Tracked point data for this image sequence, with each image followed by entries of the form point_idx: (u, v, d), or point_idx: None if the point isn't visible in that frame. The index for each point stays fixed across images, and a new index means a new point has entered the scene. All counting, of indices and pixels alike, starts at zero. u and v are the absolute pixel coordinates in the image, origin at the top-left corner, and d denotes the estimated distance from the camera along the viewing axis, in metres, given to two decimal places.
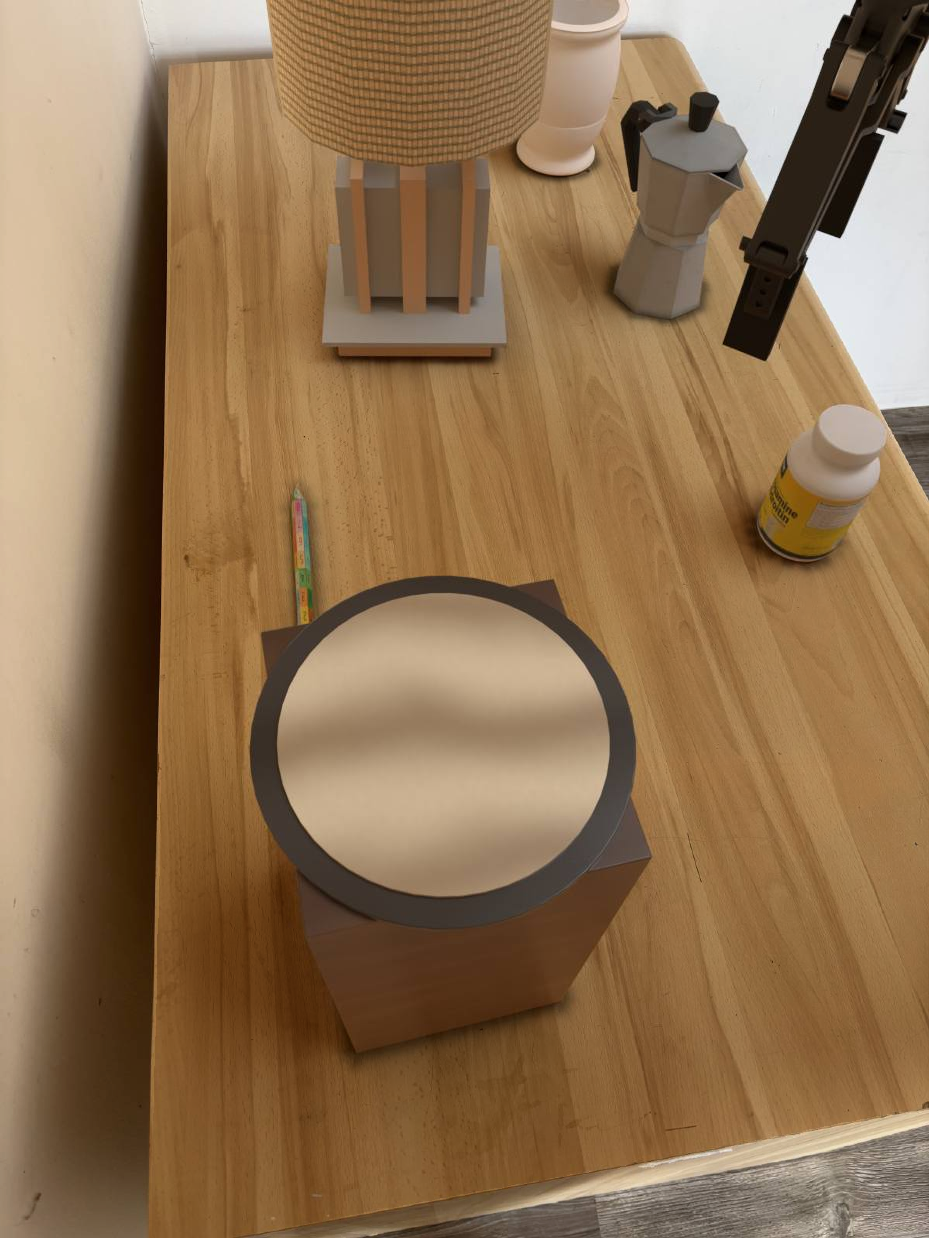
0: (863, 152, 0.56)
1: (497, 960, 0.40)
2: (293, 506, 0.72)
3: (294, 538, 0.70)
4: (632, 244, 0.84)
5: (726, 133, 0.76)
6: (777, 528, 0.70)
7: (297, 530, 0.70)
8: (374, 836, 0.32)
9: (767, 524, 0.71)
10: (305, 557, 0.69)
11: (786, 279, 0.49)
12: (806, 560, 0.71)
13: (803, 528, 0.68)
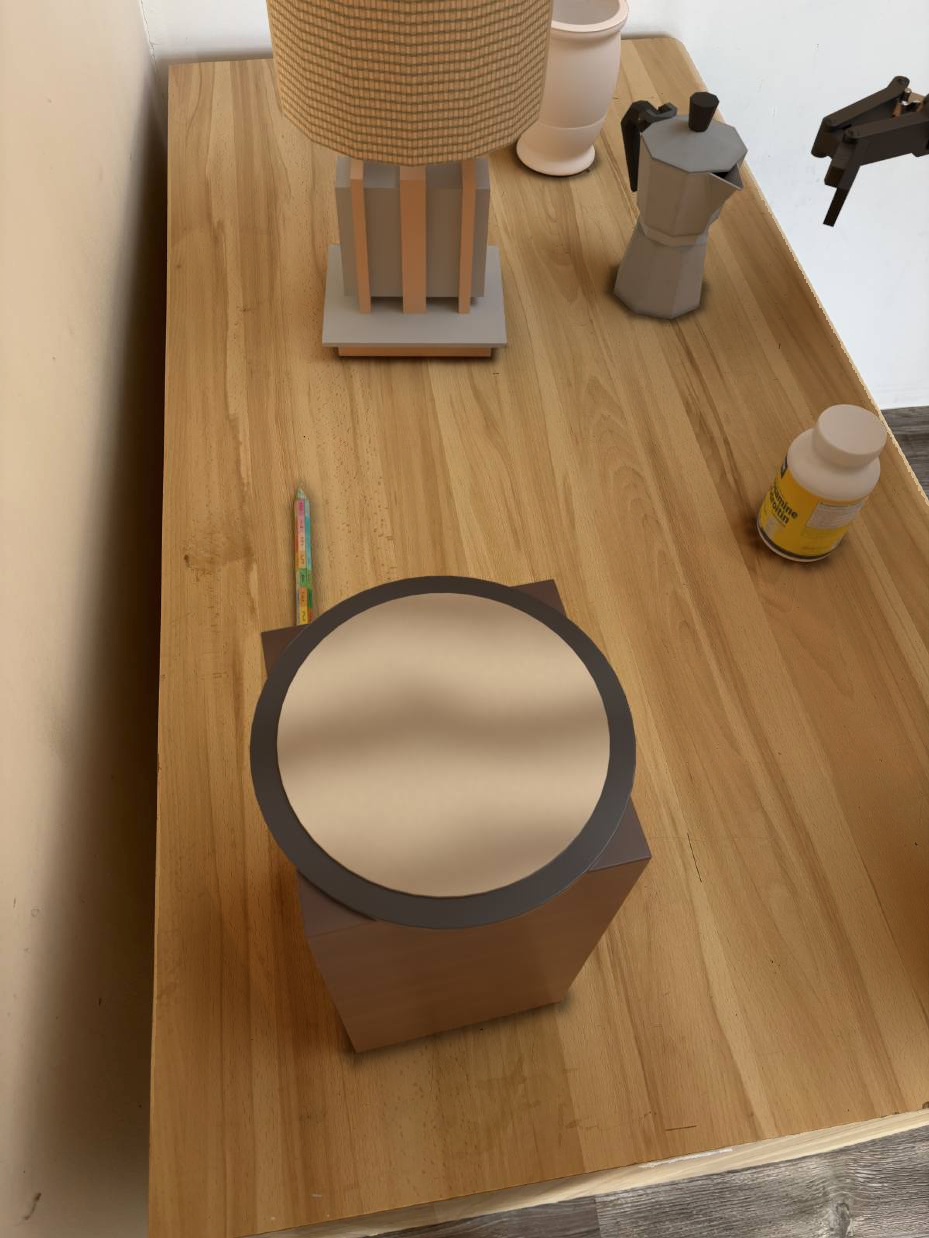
0: None
1: (497, 960, 0.40)
2: (296, 506, 0.72)
3: (296, 538, 0.70)
4: (632, 244, 0.84)
5: (726, 133, 0.76)
6: (777, 528, 0.70)
7: (299, 529, 0.70)
8: (374, 836, 0.32)
9: (767, 524, 0.71)
10: (306, 557, 0.69)
11: (853, 154, 0.64)
12: (806, 560, 0.71)
13: (803, 528, 0.68)
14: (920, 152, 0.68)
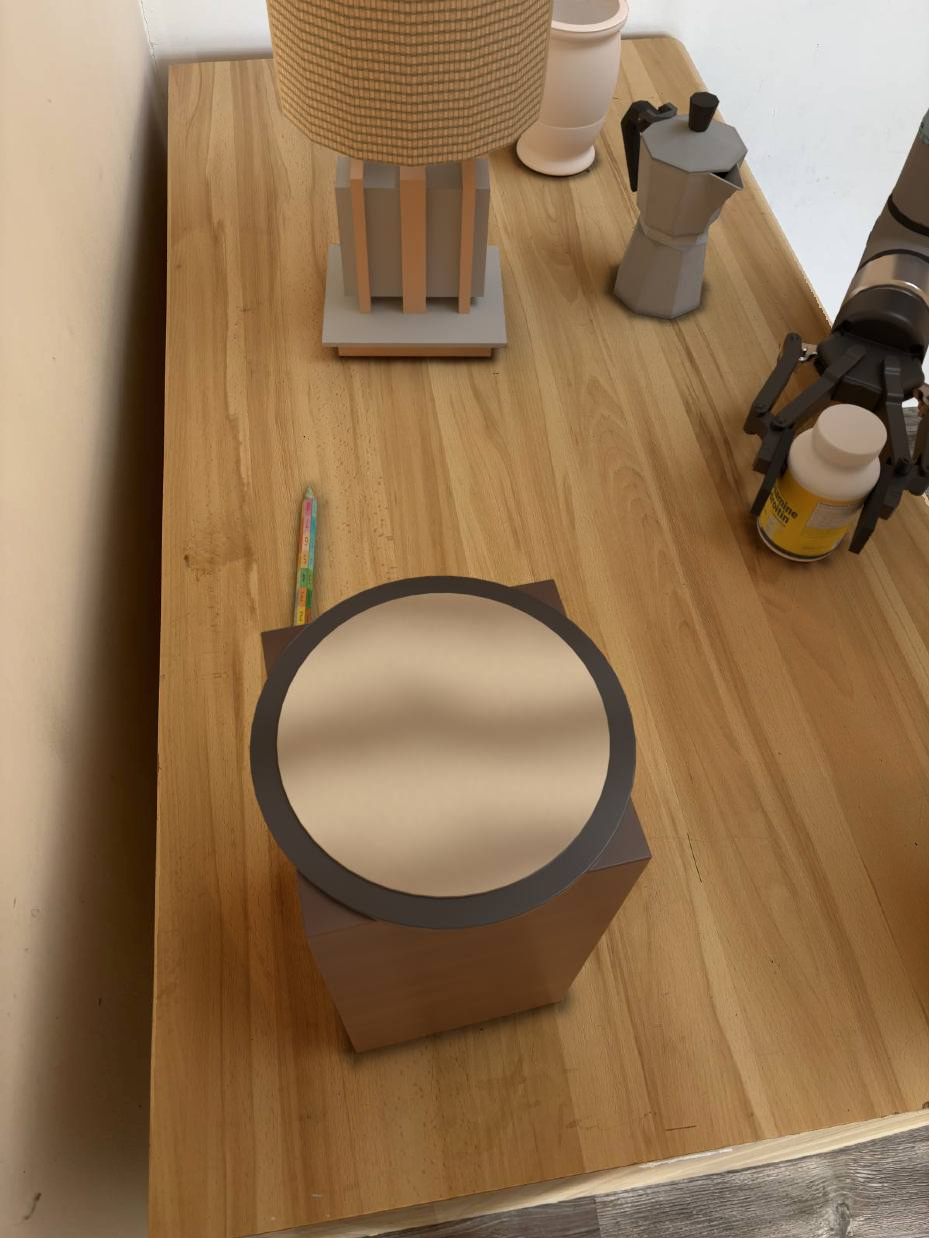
0: None
1: (497, 960, 0.40)
2: (304, 505, 0.72)
3: (301, 537, 0.70)
4: (632, 244, 0.84)
5: (726, 133, 0.76)
6: (777, 528, 0.70)
7: (304, 529, 0.70)
8: (374, 836, 0.32)
9: (767, 524, 0.71)
10: (309, 557, 0.69)
11: (779, 443, 0.68)
12: (806, 560, 0.71)
13: (803, 528, 0.68)
14: (826, 405, 0.73)
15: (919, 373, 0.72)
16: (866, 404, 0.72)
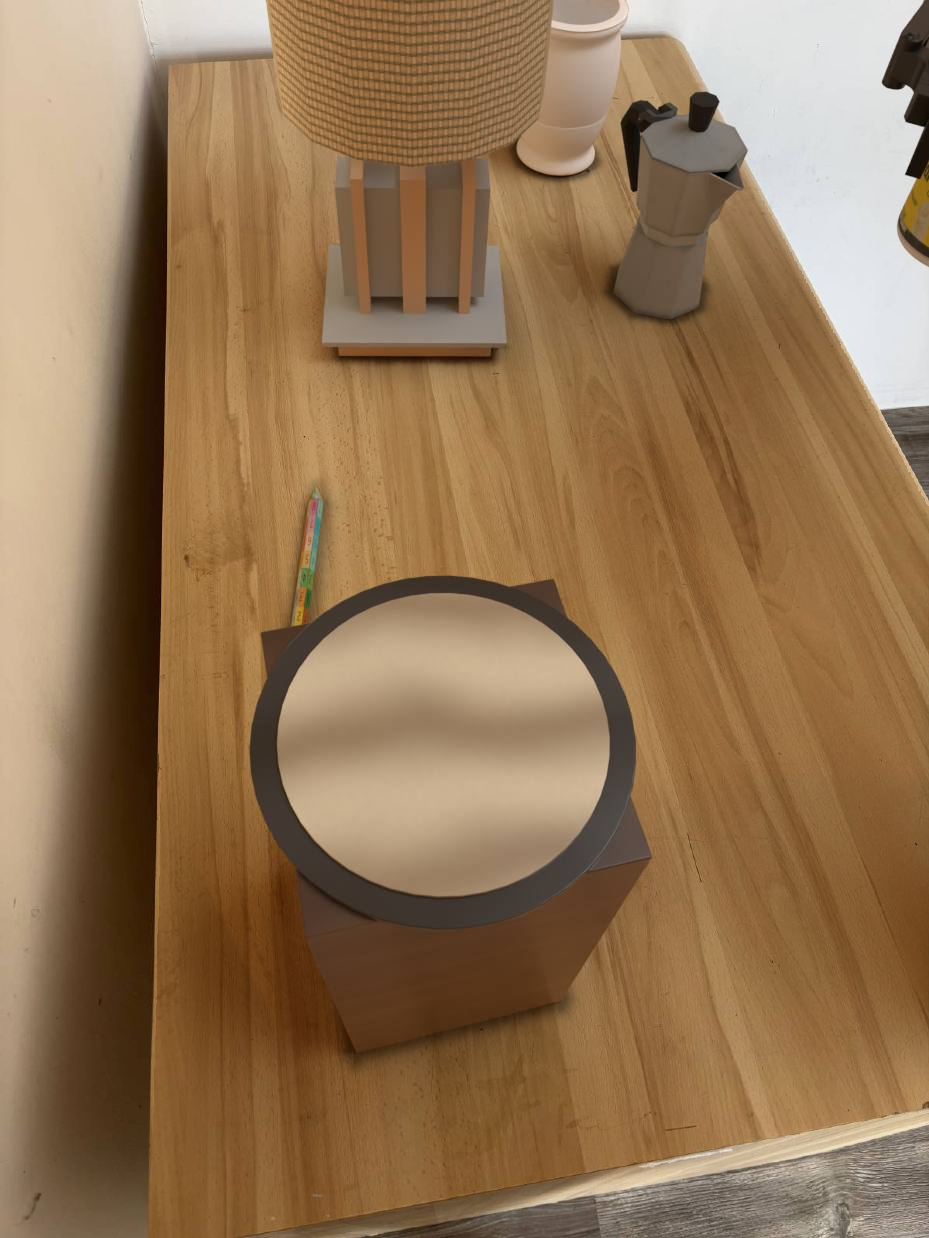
0: None
1: (497, 960, 0.40)
2: (309, 505, 0.72)
3: (304, 537, 0.70)
4: (632, 244, 0.84)
5: (726, 133, 0.76)
6: None
7: (308, 529, 0.70)
8: (374, 836, 0.32)
9: (917, 220, 0.49)
10: (311, 557, 0.69)
11: None
12: None
13: None
14: None
15: None
16: None
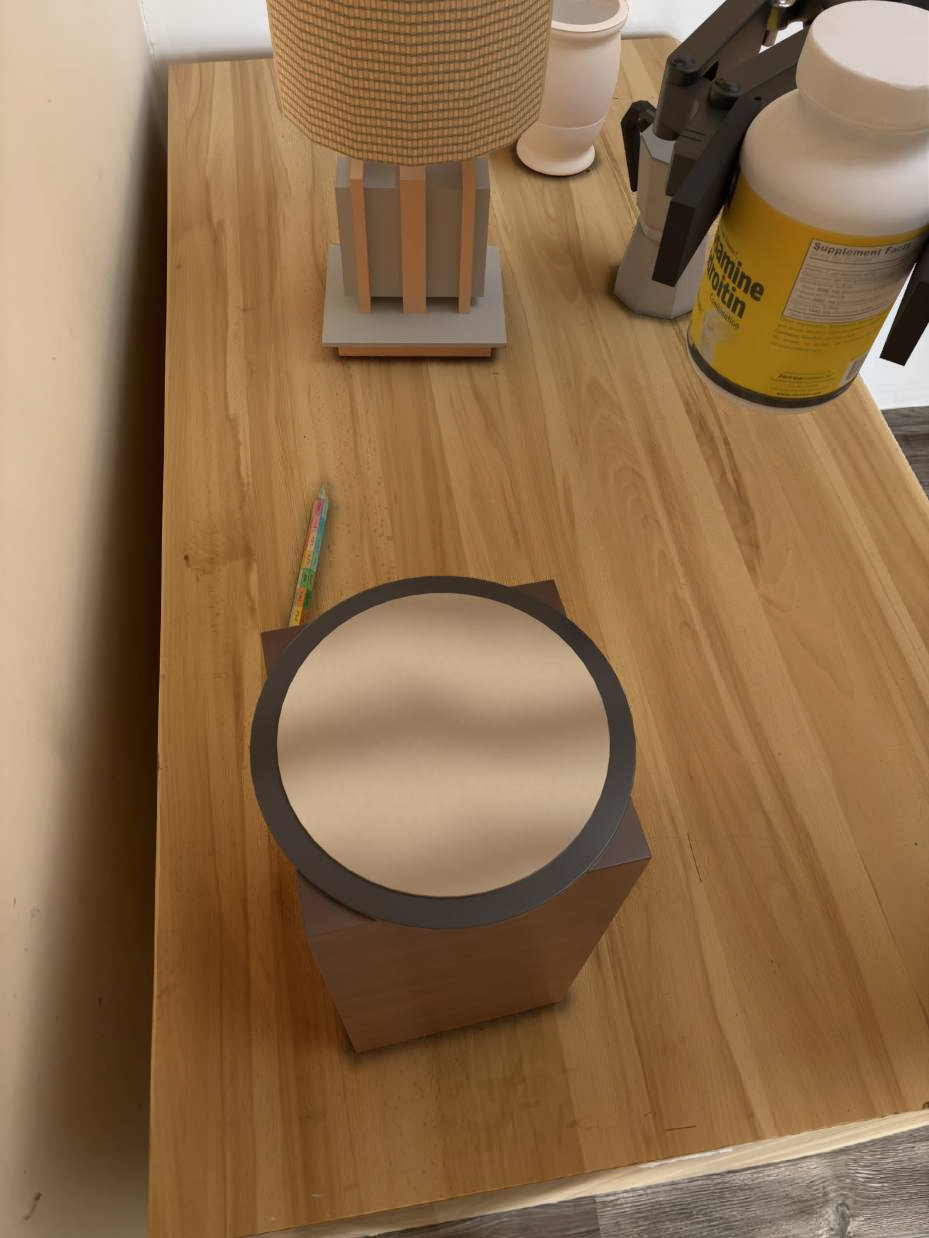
0: None
1: (497, 960, 0.40)
2: (315, 505, 0.72)
3: (308, 537, 0.70)
4: (632, 244, 0.84)
5: None
6: (722, 335, 0.32)
7: (312, 529, 0.70)
8: (374, 836, 0.32)
9: (703, 333, 0.33)
10: (313, 557, 0.69)
11: None
12: (786, 411, 0.33)
13: (777, 324, 0.30)
14: None
15: None
16: None
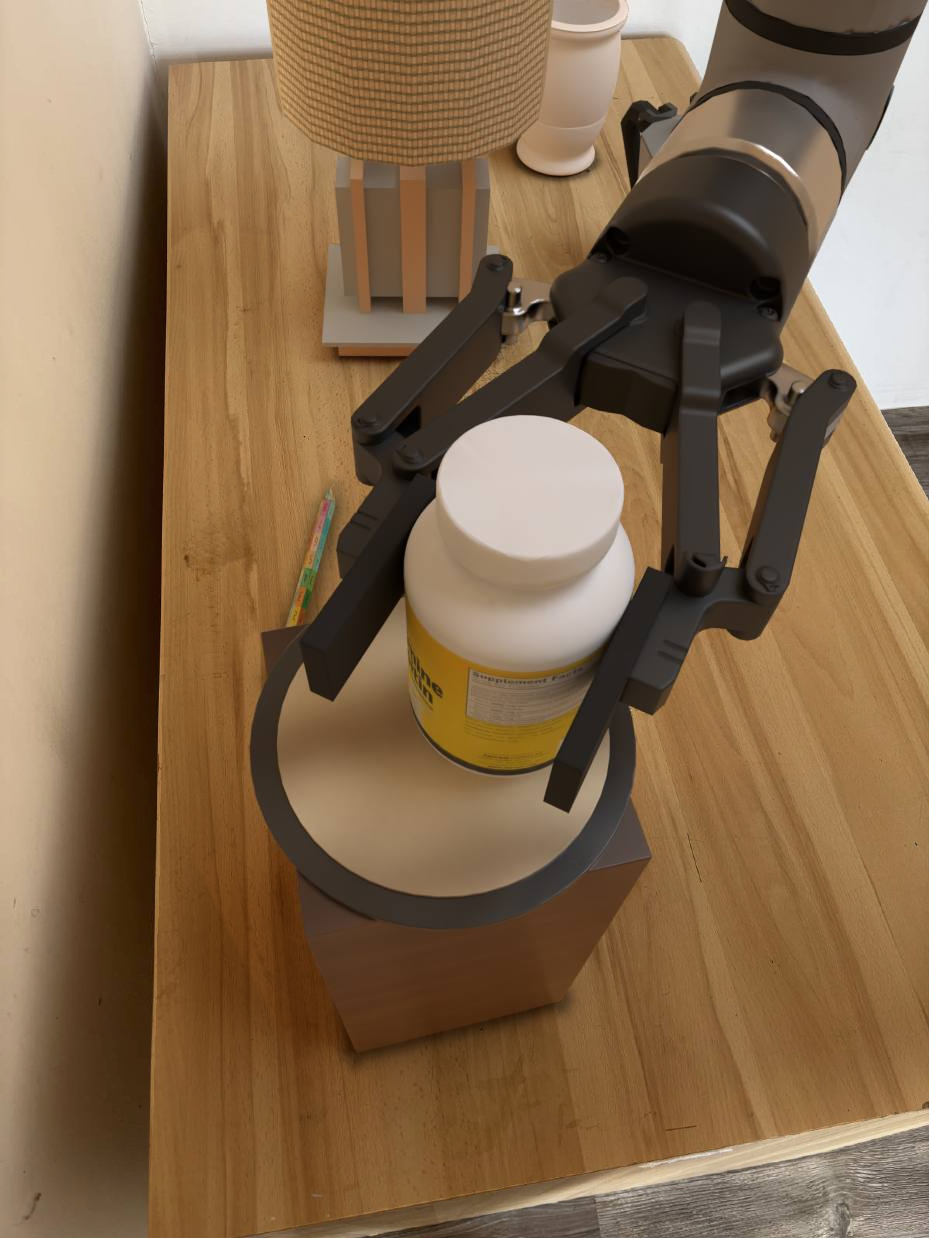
0: None
1: (497, 960, 0.40)
2: (321, 505, 0.72)
3: (311, 537, 0.70)
4: None
5: None
6: (423, 709, 0.29)
7: (316, 529, 0.70)
8: (374, 836, 0.32)
9: (411, 694, 0.30)
10: (315, 558, 0.69)
11: None
12: (504, 776, 0.31)
13: (464, 720, 0.28)
14: (566, 415, 0.32)
15: (769, 342, 0.31)
16: (648, 414, 0.31)
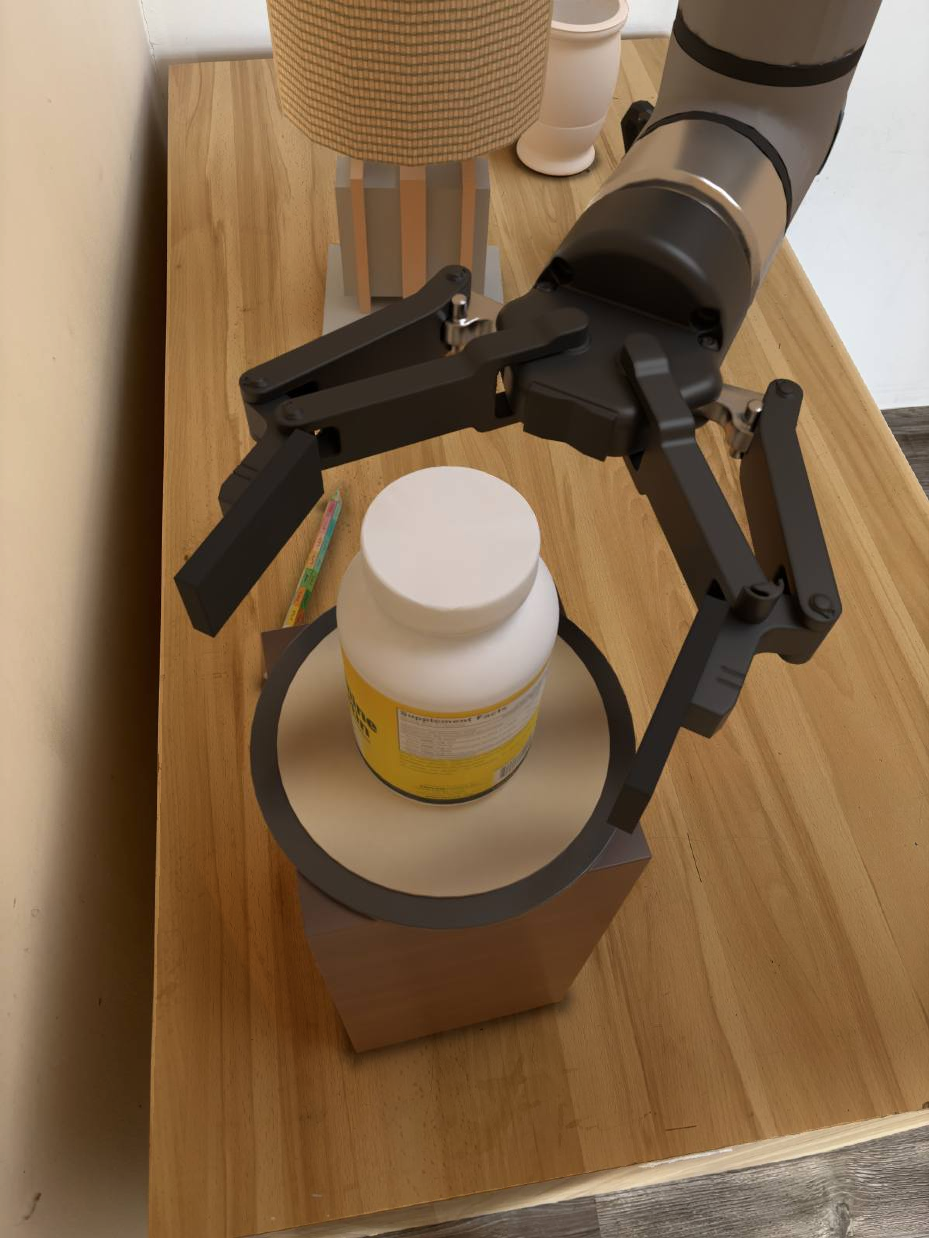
0: (689, 631, 0.27)
1: (497, 960, 0.40)
2: (327, 506, 0.72)
3: (315, 537, 0.70)
4: None
5: None
6: (362, 741, 0.30)
7: (320, 530, 0.70)
8: (374, 836, 0.32)
9: (353, 726, 0.31)
10: (317, 559, 0.69)
11: None
12: (443, 805, 0.32)
13: (399, 754, 0.29)
14: (485, 424, 0.33)
15: (708, 372, 0.32)
16: (589, 442, 0.32)
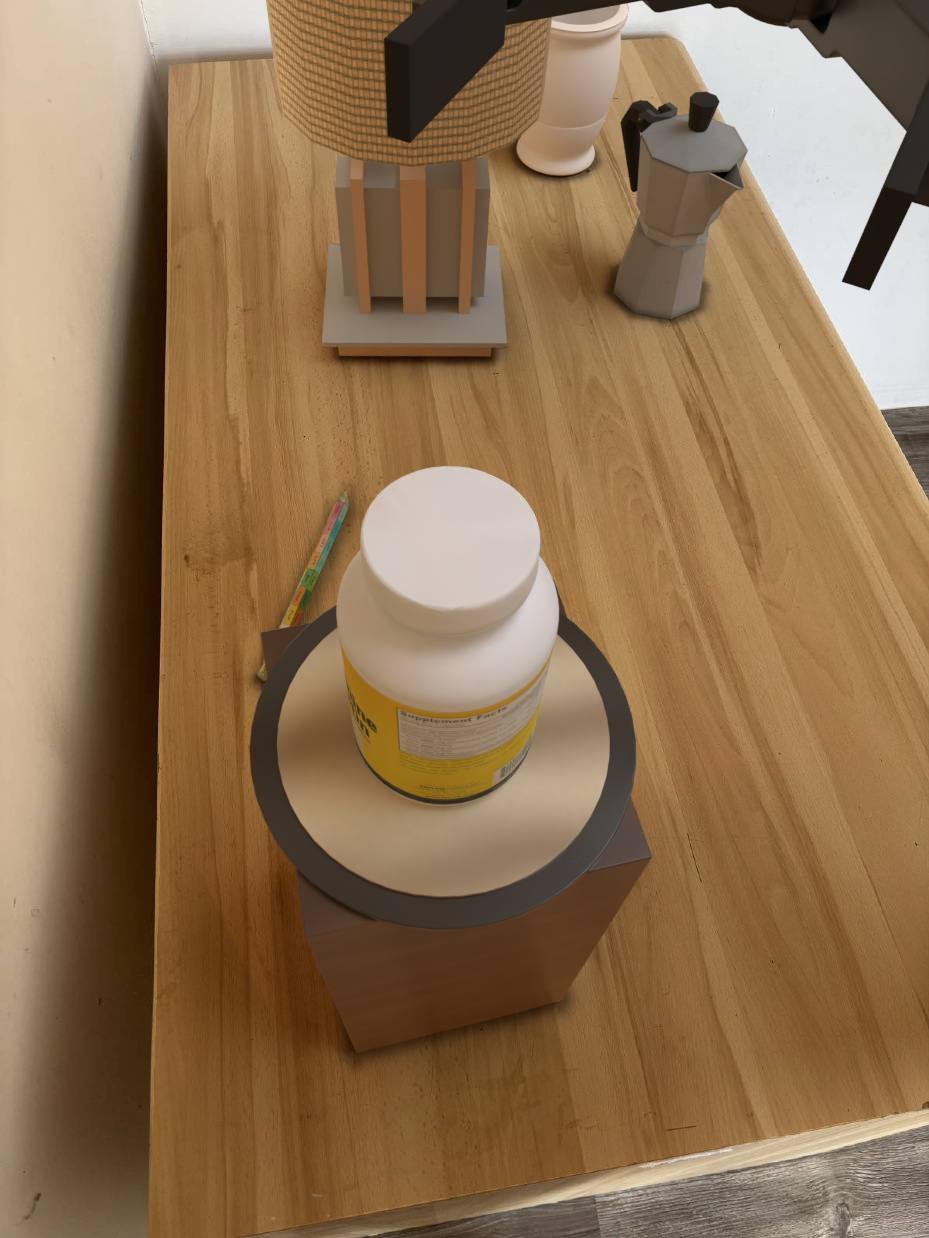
0: None
1: (497, 960, 0.40)
2: (334, 507, 0.72)
3: (320, 538, 0.70)
4: (632, 244, 0.84)
5: (726, 133, 0.76)
6: (362, 741, 0.30)
7: (325, 531, 0.70)
8: (374, 836, 0.32)
9: (353, 726, 0.31)
10: (320, 559, 0.69)
11: None
12: (443, 805, 0.32)
13: (399, 754, 0.29)
14: (660, 0, 0.32)
15: None
16: None
